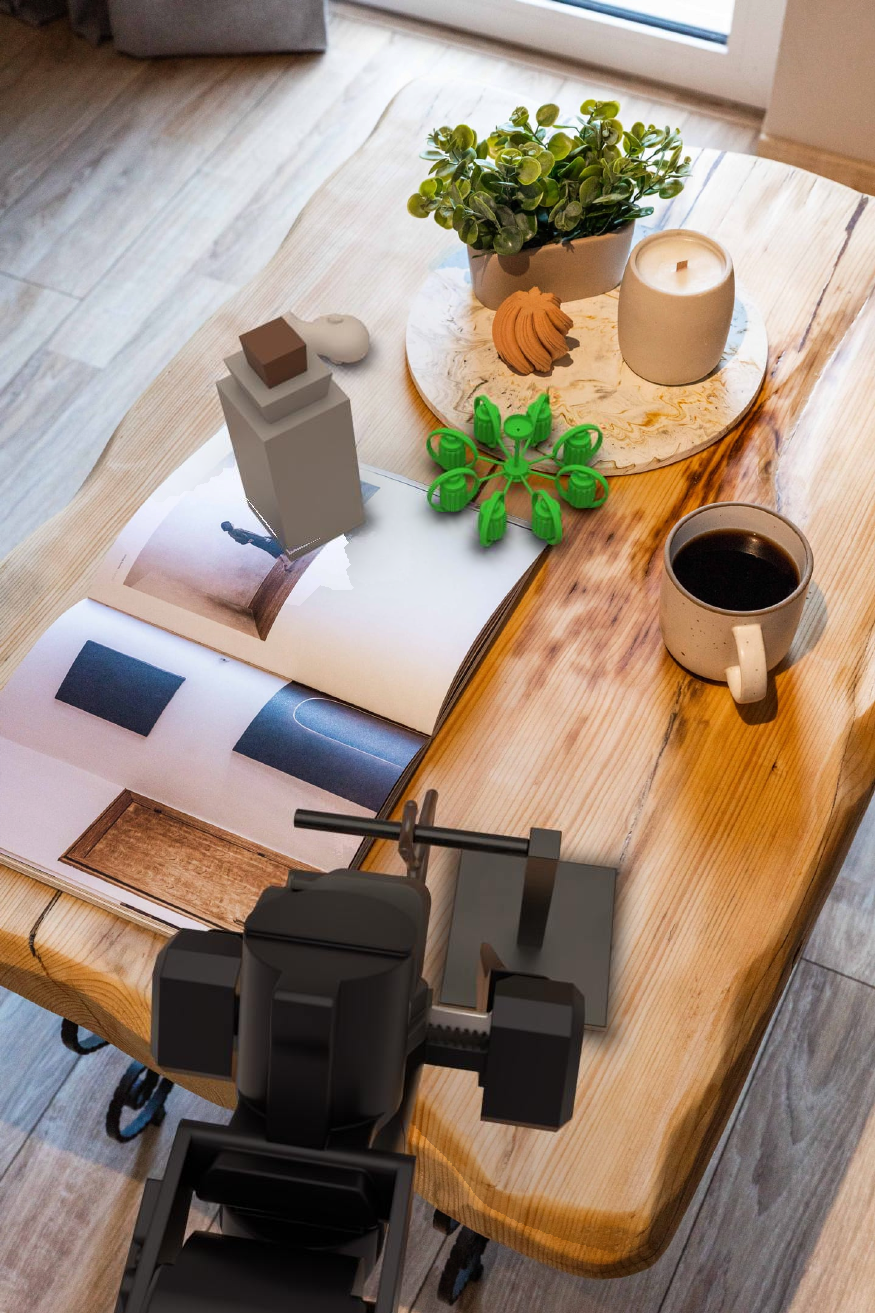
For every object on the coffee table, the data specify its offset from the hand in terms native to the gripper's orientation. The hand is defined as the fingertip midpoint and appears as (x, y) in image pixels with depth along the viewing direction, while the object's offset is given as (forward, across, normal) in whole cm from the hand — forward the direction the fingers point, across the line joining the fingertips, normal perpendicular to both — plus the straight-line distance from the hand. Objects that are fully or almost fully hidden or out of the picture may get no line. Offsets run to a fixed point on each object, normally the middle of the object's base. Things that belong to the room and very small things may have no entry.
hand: (395, 938), depth 57 cm
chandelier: (+38, -2, -20) cm, 43 cm away
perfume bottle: (+35, +14, -16) cm, 41 cm away
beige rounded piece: (+48, +16, -29) cm, 58 cm away
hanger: (+11, 0, +2) cm, 11 cm away
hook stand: (+12, -3, +6) cm, 14 cm away
